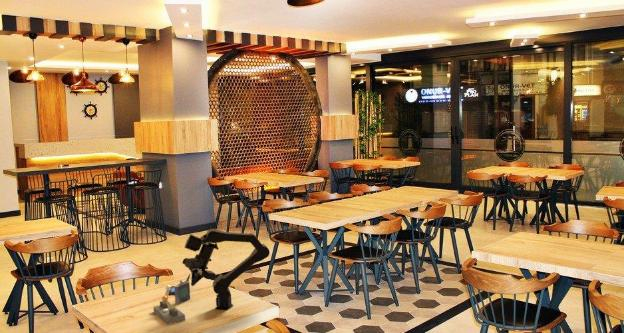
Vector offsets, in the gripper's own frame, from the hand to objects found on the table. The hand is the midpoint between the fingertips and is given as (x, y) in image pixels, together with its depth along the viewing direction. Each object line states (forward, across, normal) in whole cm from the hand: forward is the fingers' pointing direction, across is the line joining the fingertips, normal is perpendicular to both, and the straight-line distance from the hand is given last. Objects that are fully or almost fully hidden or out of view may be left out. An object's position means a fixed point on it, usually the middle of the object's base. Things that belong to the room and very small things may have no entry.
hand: (192, 285), depth 260 cm
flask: (+14, -12, +11) cm, 21 cm away
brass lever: (+12, +4, -9) cm, 15 cm away
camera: (+14, -26, +21) cm, 37 cm away
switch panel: (+16, -2, -5) cm, 17 cm away
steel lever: (+14, -8, -4) cm, 17 cm away
